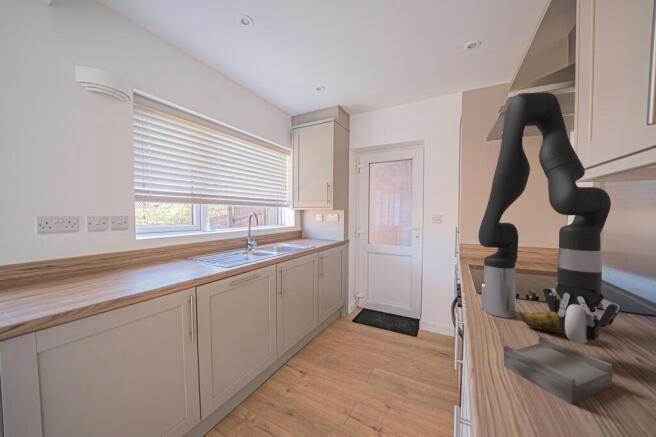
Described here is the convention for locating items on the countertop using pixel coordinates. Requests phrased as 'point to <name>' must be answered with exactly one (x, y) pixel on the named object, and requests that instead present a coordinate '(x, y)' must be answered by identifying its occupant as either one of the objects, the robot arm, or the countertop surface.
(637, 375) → the countertop surface
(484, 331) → the countertop surface
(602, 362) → the base
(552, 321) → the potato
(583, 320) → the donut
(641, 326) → the countertop surface
